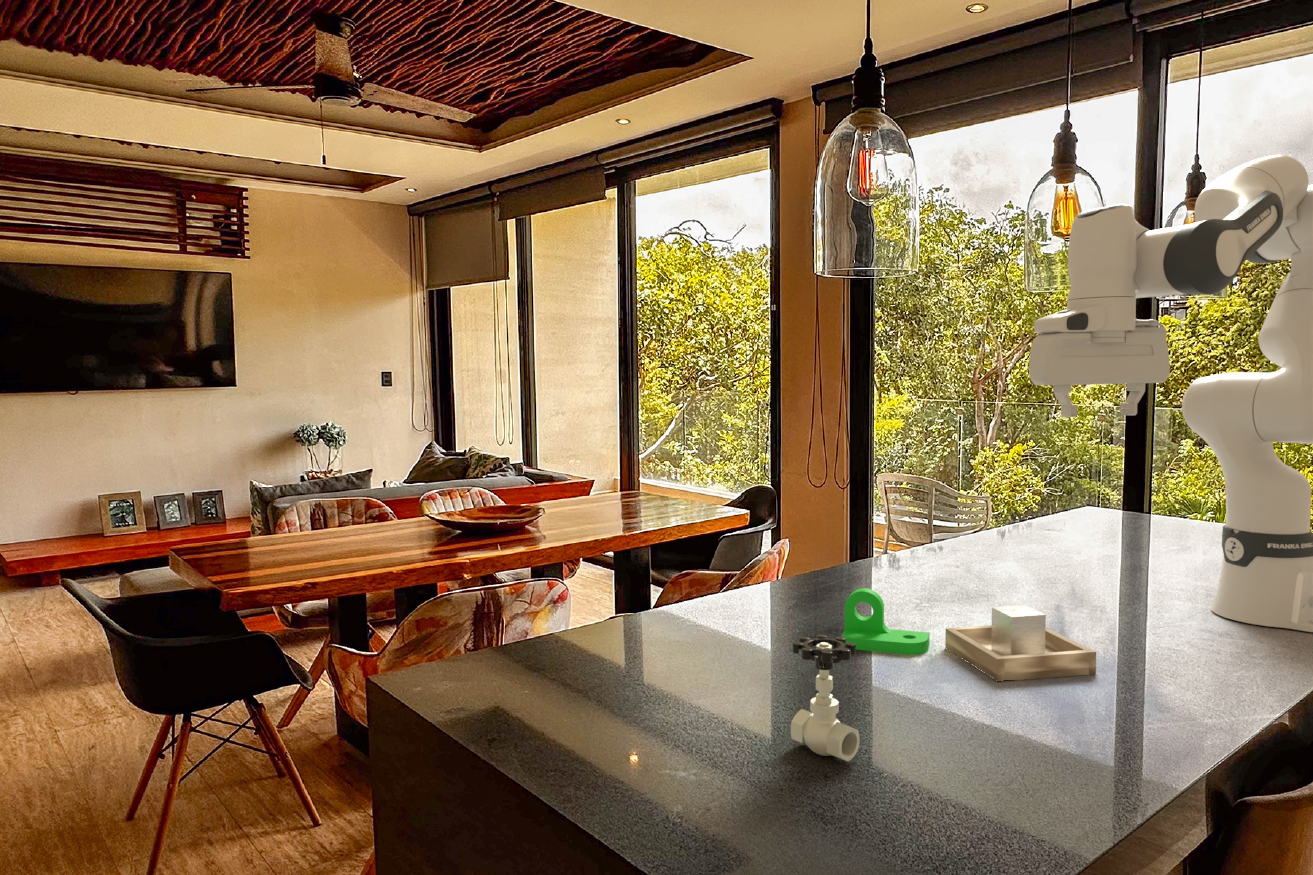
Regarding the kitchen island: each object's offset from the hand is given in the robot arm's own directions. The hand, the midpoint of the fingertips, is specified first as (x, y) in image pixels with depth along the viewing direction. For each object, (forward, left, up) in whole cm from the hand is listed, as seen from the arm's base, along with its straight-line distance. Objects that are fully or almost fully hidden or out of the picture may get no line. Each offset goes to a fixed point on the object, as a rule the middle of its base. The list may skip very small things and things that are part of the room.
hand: (1098, 416), depth 129 cm
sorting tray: (+16, +6, -33) cm, 37 cm away
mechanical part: (+31, -4, -34) cm, 46 cm away
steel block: (+16, +6, -32) cm, 36 cm away
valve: (+52, +29, -33) cm, 68 cm away
